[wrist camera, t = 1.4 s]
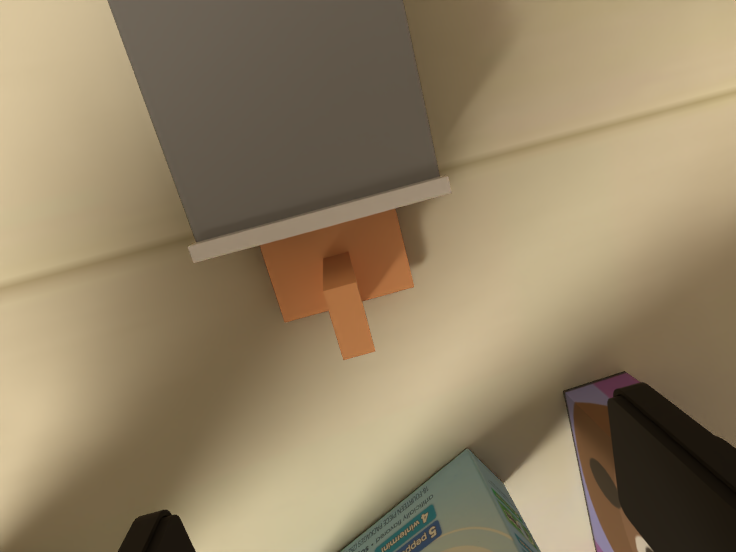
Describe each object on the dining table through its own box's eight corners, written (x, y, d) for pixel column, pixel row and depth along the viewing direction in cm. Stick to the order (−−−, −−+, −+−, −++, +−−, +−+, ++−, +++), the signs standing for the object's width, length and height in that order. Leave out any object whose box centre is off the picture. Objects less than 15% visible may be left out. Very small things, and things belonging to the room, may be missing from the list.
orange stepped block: (413, 288, 30) (442, 332, 23) (287, 323, 30) (275, 379, 22) (347, 14, 25) (357, -43, 18) (198, 53, 25) (147, 11, 18)
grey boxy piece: (418, 182, 29) (451, 192, 22) (227, 234, 29) (193, 263, 21) (353, -111, 25) (365, -225, 17) (127, -54, 25) (41, -144, 17)
